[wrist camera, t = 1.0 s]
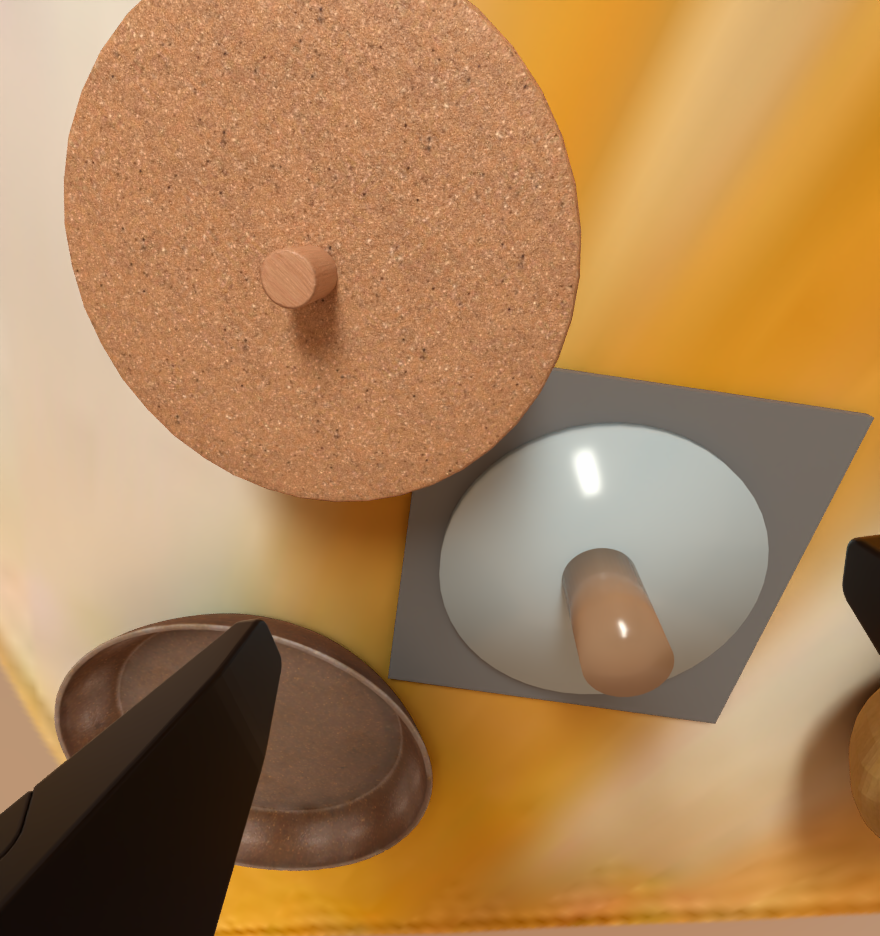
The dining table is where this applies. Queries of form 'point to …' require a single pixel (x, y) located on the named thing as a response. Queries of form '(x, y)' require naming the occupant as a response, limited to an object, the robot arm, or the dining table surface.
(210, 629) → the plant saucer
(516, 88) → the lidded jar
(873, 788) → the pot
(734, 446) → the mat
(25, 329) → the dining table surface
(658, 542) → the lid
